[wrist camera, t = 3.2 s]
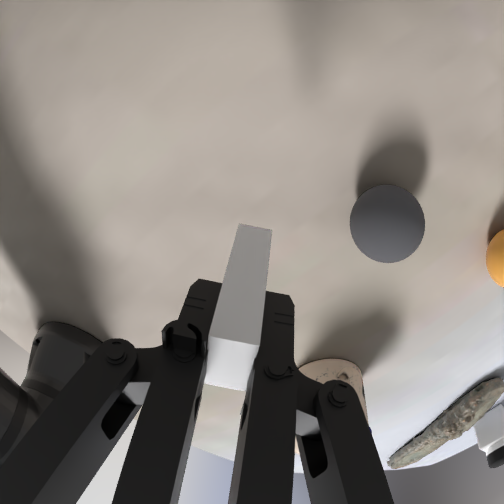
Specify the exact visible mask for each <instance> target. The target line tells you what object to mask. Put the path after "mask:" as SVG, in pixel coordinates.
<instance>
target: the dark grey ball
mask: <svg viewBox="0 0 504 504" xmlns="http://www.w3.org/2000/svg"><path fill="white" fill-rule="evenodd" d="M350 230H351V234H352V237H353V240H354V242H355V244H356V245H357V247H358V248H359V249H360V250H361V252H362V253H364V254H365V255H366V256H367V257H369V258H371V259H373V260H375V261H378V262H383V263H394V262H398V261H401V260H403V259H405V258H407V257H409V256H410V255H411V254H412V253H413V252H414V251H415V250H416V249H417V248H418V246H419V245H420V243H421V241H422V238H423V235H424V230H425V219H424V214H423V211H422V208H421V206H420V204H419V203H418V201H417V200H416V198H415V197H414V196H413V195H412V194H411V193H409V192H408V191H407V190H405V189H403V188H401V187H398V186H395V185H379V186H375V187H373V188H371V189H369V190H367V191H366V192H364V193H363V194H362V195H361V196H360V197H359V198H358V200H357V201H356V203H355V204H354V206H353V209H352V212H351V216H350Z"/></svg>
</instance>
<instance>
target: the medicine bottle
mask: <svg viewBox="0 0 504 504" xmlns="http://www.w3.org/2000/svg"><path fill="white" fill-rule="evenodd" d="M473 426H474V430H475V433H476V437H477V441H478V445H479V449H480V450H483V451H485V452H487V453H486V456H487V460H488V464H489V467H490V468H496V467H499V466H501V465H503V464H504V406H503V405H502V404H499V405H498V406H496V407H495V408H493V409H491V410H490V411H488V412H486V413H485V415H484V417H483V418H481V419H480V420H478V421H477V422H476V423H475V424H474V425H473Z"/></svg>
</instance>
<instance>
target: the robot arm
mask: <svg viewBox="0 0 504 504" xmlns="http://www.w3.org/2000/svg"><path fill="white" fill-rule="evenodd" d="M271 236H272V230H270V229H265V228H260V227H254V226H249V225H244V224H239V226H238V229H237V233H236V237H235V240H234V244H233V247H232V251H231V254H230V258H229V262H228V265H227V269H226V272H225V276H224V280H223V283H218V282H213V281H208V280H203V279H198V280H197V281H196V282H195V283H194V284H192V285H191V286H190V289H189V291H188V294H187V298H186V299H185V302H184V305H183V307H182V310H181V313H180V315H179V318H178V320H175V321H172V322H170V323H168V324H167V325H166V326H165V327H164V328H163V330H162V342H163V345H161V346H158V347H154V348H134V346H133V345H132V344H131V343H130V342H129V341H127V340H124V339H110V340H107V341H105V342H104V343H101V342H100V341H99V340H97V339H96V338H94V337H92V336H91V335H89V334H87V333H86V332H84V331H82V330H80V329H78V328H75V327H73V326H70V325H67V324H63V323H58V322H50V323H46V324H44V325H43V326H42V327H41V328H40V330H39V331H38V333H37V334H36V336H35V338H34V340H33V345H32V349H31V354H30V359H29V364H28V369H27V375H26V377H25V379H24V381H23V383H22V385H21V386H19V385H18V384H17V383H16V382H15V381H14V380H13V379H12V378H10V377H9V376H8V375H7V374H6V373H5V372H4V371H3V370H2V369H1V368H0V504H76V502H77V501H78V500H79V498H80V496H81V495H82V494H83V492H84V491H85V489H86V488H87V486H88V485H89V483H90V482H91V480H92V479H93V477H94V476H95V474H96V473H97V471H98V470H99V468H100V467H101V466H102V464H103V463H104V461H105V460H106V458H107V457H108V455H109V454H110V452H111V451H112V449H113V448H114V446H115V445H116V443H117V442H118V440H119V439H120V437H121V436H122V434H123V433H124V431H125V430H126V429H127V427H128V426H129V424H130V423H131V421H132V420H133V418H134V417H135V415H136V414H137V412H138V411H139V409H140V408H141V406H142V405H143V406H142V409H141V412H140V415H139V418H138V421H137V424H136V427H135V430H134V433H133V436H132V439H131V442H130V445H129V449H128V452H127V455H126V458H125V461H124V464H123V468H122V471H121V474H120V477H119V481H118V484H117V487H116V491H115V494H114V498H113V501H112V504H178V500H179V496H180V491H181V486H182V482H183V477H184V473H185V468H186V464H187V459H188V454H189V450H190V446H191V441H192V437H193V432H194V428H195V424H196V419H197V415H198V410H199V406H200V402H201V397H202V389H203V385H204V383H205V384H209V385H214V386H219V387H224V388H230V389H235V390H241V391H246V396H245V400H244V404H243V407H242V410H241V413H240V415H241V422H240V428H239V435H238V442H237V448H236V455H235V461H234V468H233V474H232V481H231V487H230V493H229V500H228V504H291V503H292V488H293V474H294V456H295V436H296V439H297V444H298V448H299V453H300V457H301V461H302V466H303V470H304V474H305V479H306V484H307V488H308V492H309V497H310V501H311V504H394V502H393V499H392V495H391V492H390V489H389V486H388V483H387V479H386V476H385V474H384V470H383V467H382V464H381V461H380V458H379V455H378V452H377V449H376V446H375V443H374V440H373V437H372V434H371V431H370V428H369V425H368V423H367V420H366V417H365V414H364V411H363V408H362V406H361V403H360V400H359V397H358V394H357V393H356V391H355V389H354V388H353V387H352V386H351V385H350V384H348V383H347V382H344V381H342V380H330V381H327V382H325V383H324V384H322V383H320V382H318V381H315V380H313V379H311V378H309V377H307V376H305V375H304V374H303V373H301V372H300V371H299V369H298V368H297V367H296V364H295V362H294V304H293V302H292V300H291V298H290V296H289V295H285V294H279V293H274V292H269V291H266V284H267V275H268V265H269V256H270V246H271Z"/></svg>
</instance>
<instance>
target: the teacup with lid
mask: <svg viewBox="0 0 504 504" xmlns="http://www.w3.org/2000/svg"><path fill="white" fill-rule="evenodd" d="M299 371H300V372H301V373H303V374H304V375H305V376H307V377H309V378H311V379H313V380H315V381H318V382H320V383H322V384H324V383H325V382H327V381H330V380H342V381H344V382H347V383H348V384H350V385H351V386H352V387H353V388H354V389H355V391H356V393H357V394H358V397H359V400H360V403H361V406H362V408H363V411H364V414H365V417H366V420H367V423H368V416H367V409H366V401H365V394H364V387H363V380H362V374H361V371H360V369H359V368H358V367H357V366H356V365H355V364H353V363H352V362H349V361H346V360H342V359H322V360H317V361H313V362H310V363H308V364H306V365H304V366H302V367H301V368H299ZM369 428H370V427H369ZM370 431H371V429H370ZM371 434H372V431H371ZM295 453H297V454H299V455H300V453H299V448H298V444H297V439H296V436H295Z"/></svg>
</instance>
